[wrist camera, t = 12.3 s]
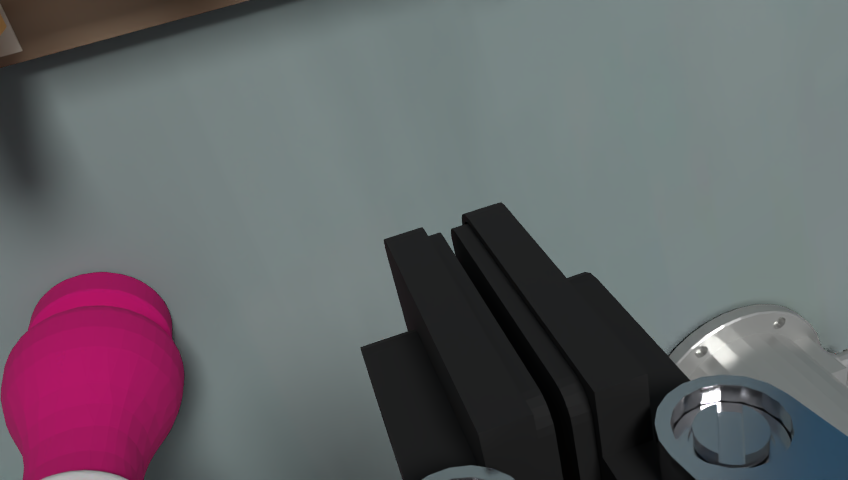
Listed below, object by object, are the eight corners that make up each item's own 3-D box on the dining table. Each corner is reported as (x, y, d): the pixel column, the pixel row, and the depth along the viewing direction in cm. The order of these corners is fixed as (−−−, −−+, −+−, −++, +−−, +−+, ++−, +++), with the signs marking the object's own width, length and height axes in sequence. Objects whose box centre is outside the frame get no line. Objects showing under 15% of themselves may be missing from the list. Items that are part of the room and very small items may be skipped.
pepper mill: (55, 406, 38) (-30, 869, 22) (-9, 287, 35) (-173, 734, 18) (201, 361, 40) (228, 768, 23) (154, 242, 36) (144, 622, 19)
